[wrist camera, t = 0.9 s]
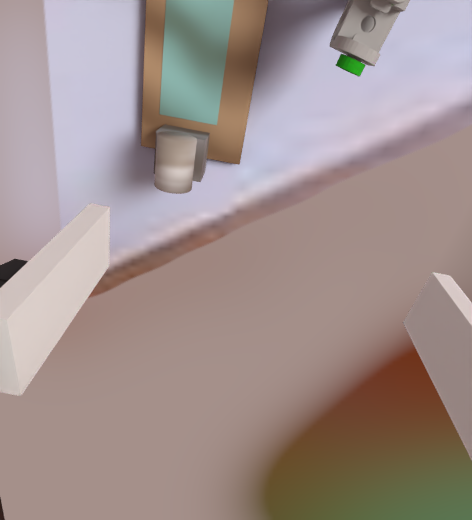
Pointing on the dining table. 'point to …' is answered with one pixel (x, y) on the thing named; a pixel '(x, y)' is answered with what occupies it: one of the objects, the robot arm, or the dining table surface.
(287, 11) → the dining table surface
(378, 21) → the mechanical component
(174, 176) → the mint panel frame
